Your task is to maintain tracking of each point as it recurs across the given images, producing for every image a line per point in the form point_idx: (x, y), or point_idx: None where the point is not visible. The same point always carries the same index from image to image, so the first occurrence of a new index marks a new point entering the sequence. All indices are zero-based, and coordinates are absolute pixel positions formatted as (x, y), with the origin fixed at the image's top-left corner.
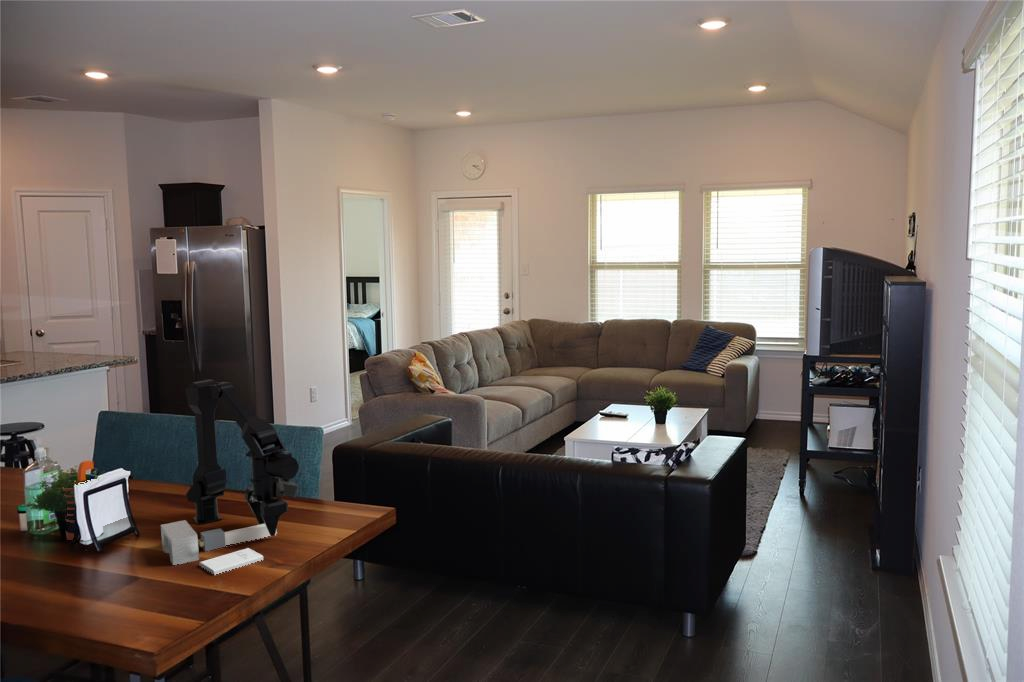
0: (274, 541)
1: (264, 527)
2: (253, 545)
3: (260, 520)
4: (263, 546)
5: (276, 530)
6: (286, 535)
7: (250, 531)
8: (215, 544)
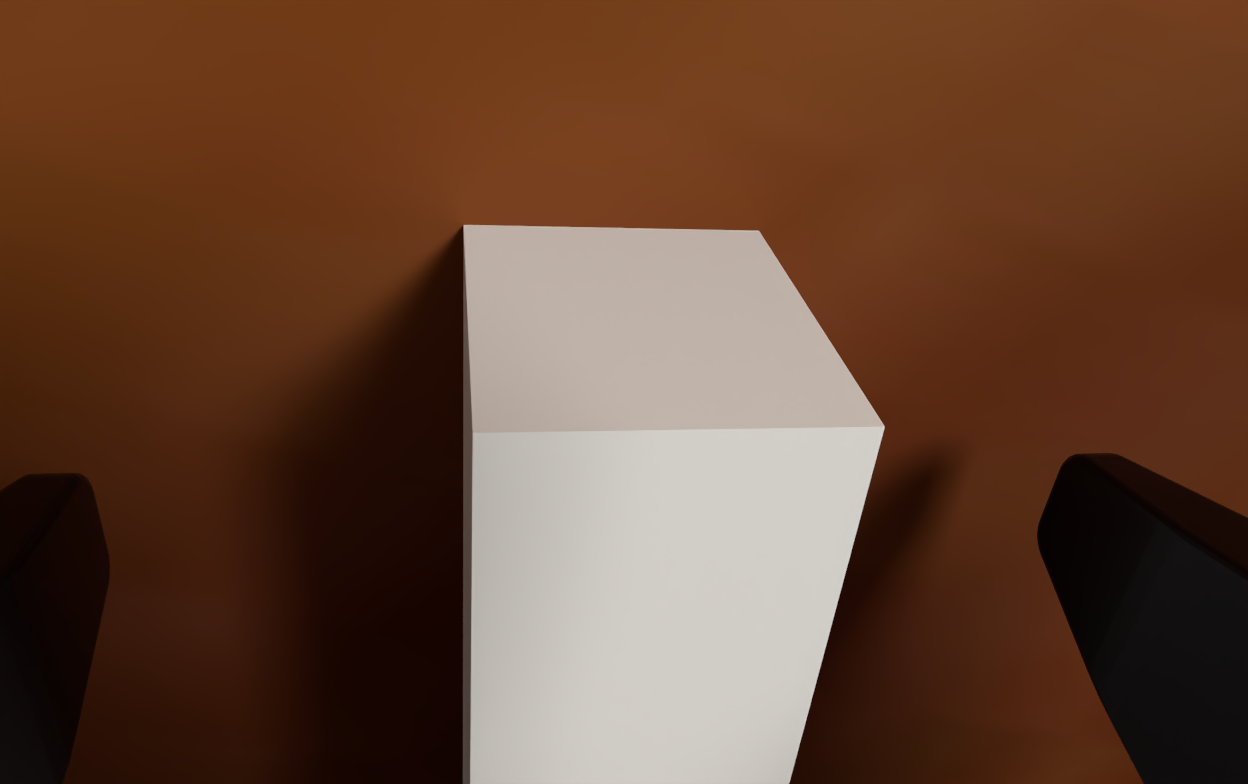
0: (1129, 422)
1: (783, 739)
2: (949, 757)
3: (23, 770)
4: None
5: (795, 303)
6: (1033, 10)
7: None
8: None
